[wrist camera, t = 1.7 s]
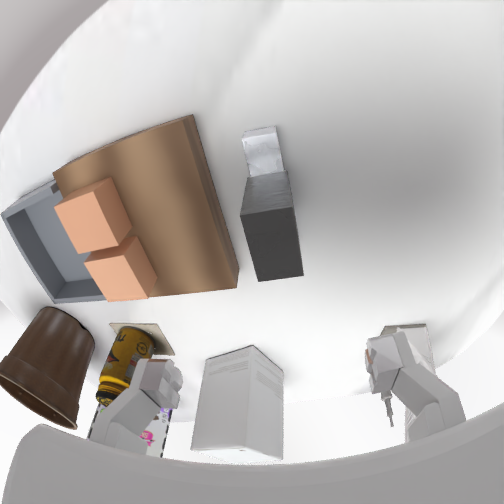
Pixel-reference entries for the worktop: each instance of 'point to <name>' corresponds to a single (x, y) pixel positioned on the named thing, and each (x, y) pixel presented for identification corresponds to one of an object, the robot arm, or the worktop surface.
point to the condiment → (128, 357)
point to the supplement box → (240, 409)
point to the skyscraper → (422, 355)
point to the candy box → (149, 431)
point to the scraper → (269, 209)
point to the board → (165, 204)
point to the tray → (50, 247)
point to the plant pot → (49, 366)
